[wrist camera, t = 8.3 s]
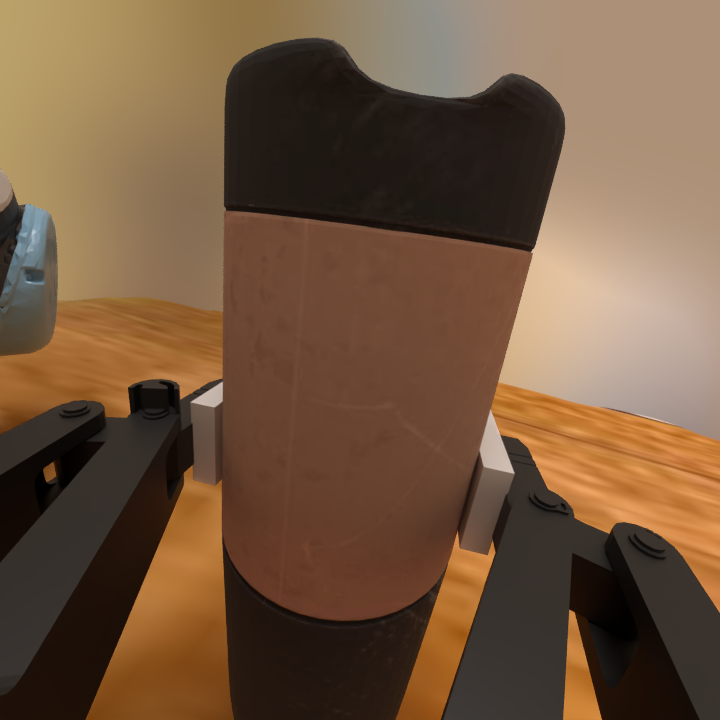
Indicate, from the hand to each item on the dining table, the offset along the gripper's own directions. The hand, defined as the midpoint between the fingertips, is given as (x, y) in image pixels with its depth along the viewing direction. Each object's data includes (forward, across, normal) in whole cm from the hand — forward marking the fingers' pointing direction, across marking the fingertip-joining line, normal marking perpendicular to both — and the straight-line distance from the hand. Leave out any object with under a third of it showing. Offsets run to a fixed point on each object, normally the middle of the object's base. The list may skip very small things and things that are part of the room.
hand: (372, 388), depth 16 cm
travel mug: (-5, 0, -11) cm, 12 cm away
